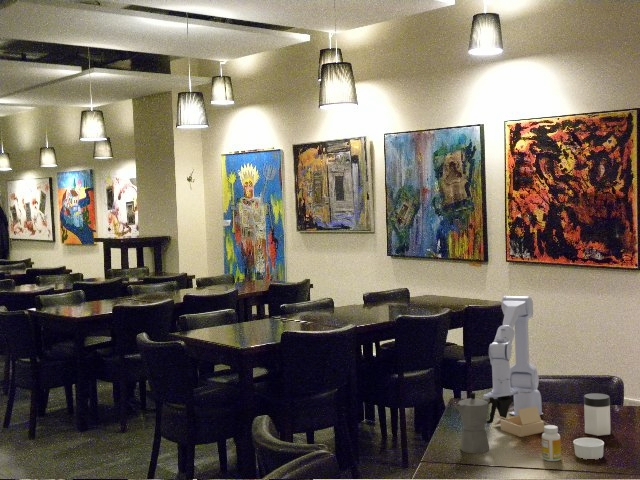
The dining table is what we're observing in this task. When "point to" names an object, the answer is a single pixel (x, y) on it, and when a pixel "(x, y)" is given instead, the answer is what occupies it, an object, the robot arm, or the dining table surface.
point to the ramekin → (588, 448)
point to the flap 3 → (529, 415)
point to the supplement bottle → (551, 443)
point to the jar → (597, 414)
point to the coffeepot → (475, 423)
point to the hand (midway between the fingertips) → (503, 418)
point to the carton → (521, 427)
